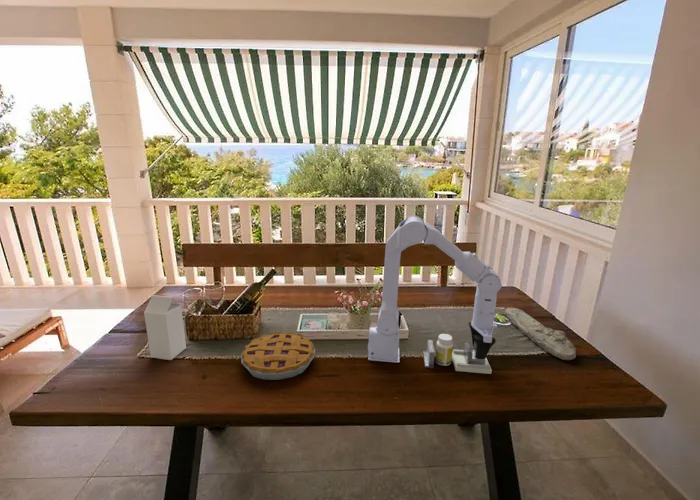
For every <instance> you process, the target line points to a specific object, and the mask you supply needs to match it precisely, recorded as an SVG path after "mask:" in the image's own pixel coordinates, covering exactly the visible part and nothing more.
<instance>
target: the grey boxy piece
mask: <svg viewBox="0 0 700 500" xmlns="http://www.w3.org/2000/svg"><path fill="white" fill-rule="evenodd" d="M463 345H464V347H463V350H464V352H463V354H464V357H465V360H466V363H467V364H478V365H485V361H486V359H478V357H477V345H476V341H474V347H473V348H472V347H471V345H470V342H464V344H463Z"/></svg>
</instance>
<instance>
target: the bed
mask: <svg viewBox="0 0 700 500" xmlns="http://www.w3.org/2000/svg"><path fill="white" fill-rule="evenodd" d="M463 352H464V349H456V348H455V349H454V348H453V351H452V363H453V366H454V370H455V371H456V372H465V373H475V374H485V375H486V374H487V375H488V374H489V375H492V371H493V369H492V367H491V364H489V361H488V359H487V357H486V358H485V359H486V361H485V365H478V364H467V363H466V360H465V357H464V354H463Z"/></svg>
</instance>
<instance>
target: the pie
mask: <svg viewBox="0 0 700 500" xmlns="http://www.w3.org/2000/svg"><path fill="white" fill-rule="evenodd" d="M243 349H244V350H243V351H242V352H241V354H240V358H241V359H240V361H241V365H243V367H244V368H245V369H247V371H248V372H249V373H250V374H251V375H252V377H254V378H257V379H260V380H261V379H262V380H275V381H277V380H284V379H289V378H293V377H296V376H298V375H300V374H303V373H304V372H305V371H306V369H308V367H309V365H310V364H311V362H312V361H313V360H314V359H315V358H314V357H315V355H316V348H315V346H314V343H313V342H312V341H311V339H310V338H307V337H305V336H304V335H303V334H301V333H297V334H294V333H293V332H290V331H289V332H288V331H287V332H284V333H281V332H280V331H279V332H277V331H276V332H275V331H274V333H273V334H263V335H261V336H260V337H259V338H255V337H254V338H253V339H252V340H250V343H249V344H247V345H245V346H244V348H243Z"/></svg>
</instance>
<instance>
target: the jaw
mask: <svg viewBox="0 0 700 500" xmlns="http://www.w3.org/2000/svg"><path fill="white" fill-rule="evenodd" d="M426 343H427V345H426V350H425V351H423V350H422V351H423V352H422V355H423V362H424V368H426V369H434V367H435V366H434V363H435V355H436V351H435V347H434V343H433V339H427V342H426Z"/></svg>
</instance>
